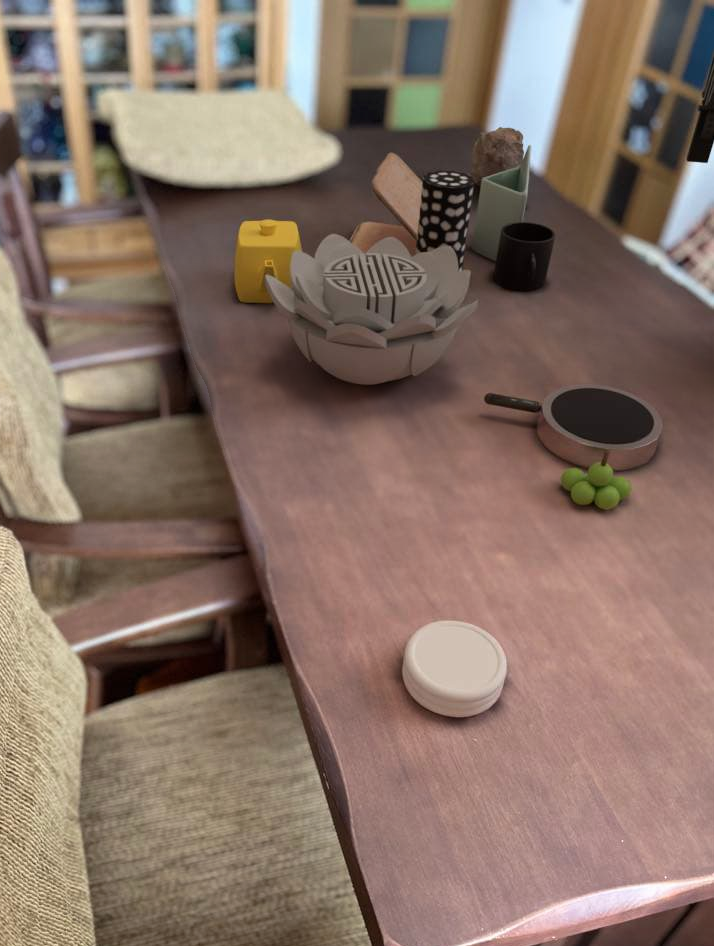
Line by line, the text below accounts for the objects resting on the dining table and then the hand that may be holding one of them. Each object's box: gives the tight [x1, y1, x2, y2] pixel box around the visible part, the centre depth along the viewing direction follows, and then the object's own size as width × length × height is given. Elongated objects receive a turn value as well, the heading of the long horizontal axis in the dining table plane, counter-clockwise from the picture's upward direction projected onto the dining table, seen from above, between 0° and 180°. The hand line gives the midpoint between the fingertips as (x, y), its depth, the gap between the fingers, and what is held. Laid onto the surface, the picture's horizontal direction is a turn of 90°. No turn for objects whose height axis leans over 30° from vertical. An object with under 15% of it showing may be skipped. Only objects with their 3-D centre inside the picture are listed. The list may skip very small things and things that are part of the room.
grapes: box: [560, 450, 633, 511], centre depth 101 cm, size 9×5×8 cm, turn 73°
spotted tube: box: [415, 169, 475, 272], centre depth 140 cm, size 8×8×20 cm
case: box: [348, 152, 423, 257], centre depth 155 cm, size 20×21×16 cm
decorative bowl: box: [265, 233, 479, 386], centre depth 123 cm, size 30×30×15 cm
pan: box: [483, 383, 664, 472], centre depth 114 cm, size 24×16×4 cm, turn 71°
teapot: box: [233, 218, 303, 304], centre depth 144 cm, size 20×12×12 cm, turn 1°
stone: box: [470, 127, 532, 188], centre depth 180 cm, size 22×10×15 cm, turn 8°
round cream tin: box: [401, 619, 508, 718], centre depth 81 cm, size 10×10×4 cm
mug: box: [493, 221, 556, 292], centre depth 148 cm, size 9×12×9 cm
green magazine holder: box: [471, 144, 532, 263], centre depth 155 cm, size 16×8×20 cm, turn 172°
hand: (696, 160), depth 116 cm, fingers closed
